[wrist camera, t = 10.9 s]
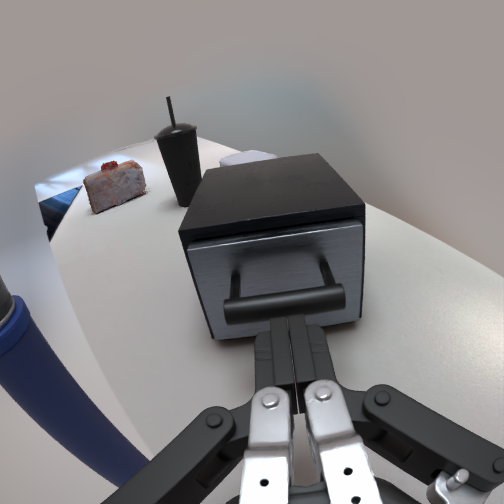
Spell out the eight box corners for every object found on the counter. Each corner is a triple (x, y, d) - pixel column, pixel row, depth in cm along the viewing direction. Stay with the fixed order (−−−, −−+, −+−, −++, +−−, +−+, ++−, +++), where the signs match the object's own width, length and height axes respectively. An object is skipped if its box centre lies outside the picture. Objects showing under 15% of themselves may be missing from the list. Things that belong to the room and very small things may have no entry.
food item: (140, 188, 74) (130, 151, 69) (150, 193, 68) (139, 152, 63) (90, 209, 67) (78, 171, 63) (96, 216, 62) (82, 174, 57)
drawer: (374, 360, 20) (387, 259, 16) (210, 382, 21) (173, 289, 17) (323, 236, 36) (318, 166, 32) (225, 250, 37) (210, 182, 33)
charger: (253, 195, 55) (222, 179, 67) (297, 182, 57) (260, 168, 70) (249, 170, 52) (218, 158, 64) (294, 157, 55) (257, 148, 67)
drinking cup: (163, 209, 56) (137, 104, 46) (187, 194, 62) (165, 98, 52) (196, 210, 53) (170, 95, 43) (219, 193, 59) (198, 89, 49)
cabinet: (361, 317, 25) (365, 203, 20) (211, 338, 26) (177, 230, 21) (324, 233, 39) (318, 153, 34) (223, 248, 40) (206, 169, 35)
